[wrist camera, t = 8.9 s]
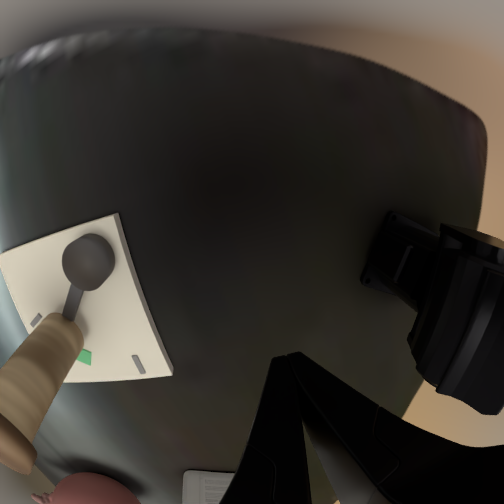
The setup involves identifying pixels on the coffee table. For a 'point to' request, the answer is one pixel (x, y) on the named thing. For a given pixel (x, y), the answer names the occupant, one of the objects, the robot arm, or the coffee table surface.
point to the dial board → (90, 305)
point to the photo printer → (204, 486)
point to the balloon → (88, 491)
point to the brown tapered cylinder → (48, 355)
